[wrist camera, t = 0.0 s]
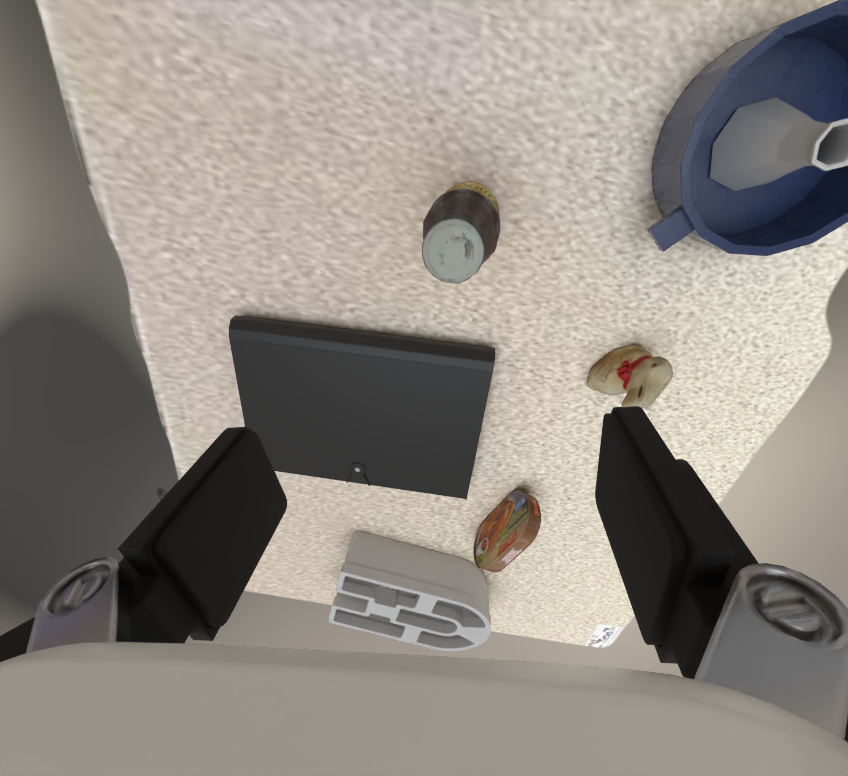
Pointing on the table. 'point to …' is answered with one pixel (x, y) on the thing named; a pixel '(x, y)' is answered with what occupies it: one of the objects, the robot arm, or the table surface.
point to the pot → (713, 108)
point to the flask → (775, 145)
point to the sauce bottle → (460, 232)
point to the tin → (507, 531)
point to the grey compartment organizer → (412, 595)
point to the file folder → (362, 403)
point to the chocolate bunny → (631, 375)
